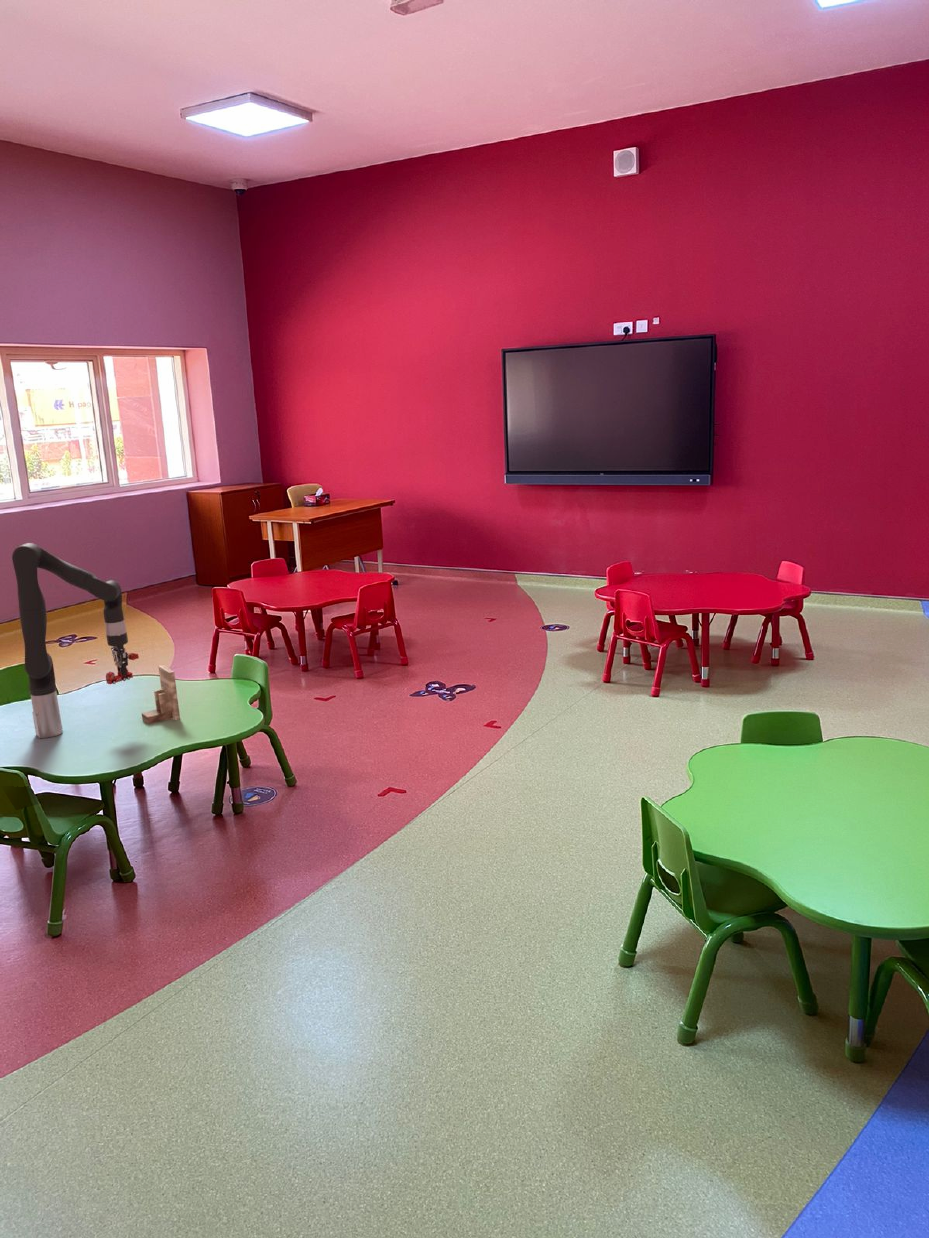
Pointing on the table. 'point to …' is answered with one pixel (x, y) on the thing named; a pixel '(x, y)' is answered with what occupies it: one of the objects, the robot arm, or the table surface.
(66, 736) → the table surface
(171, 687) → the board
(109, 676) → the toy fire truck
